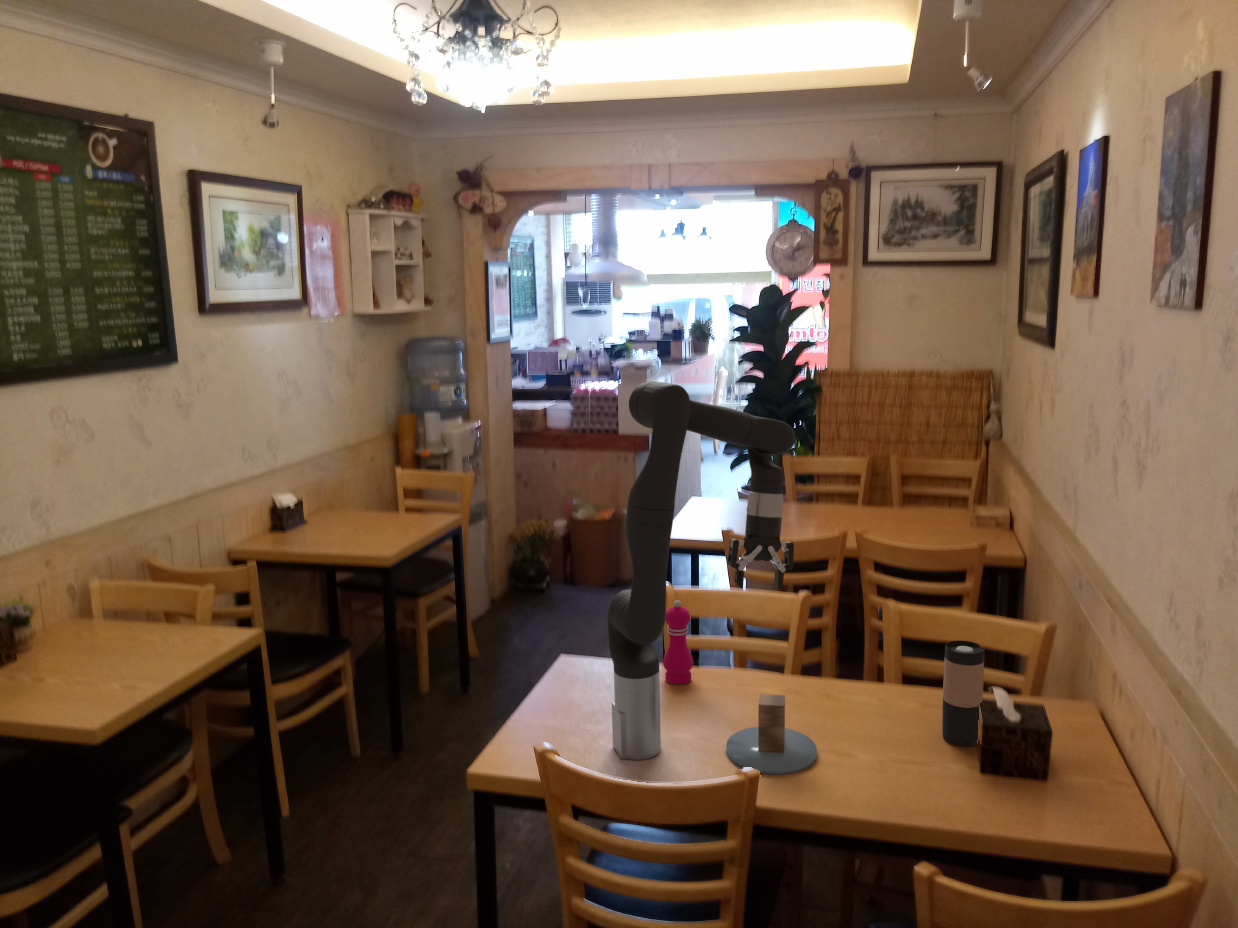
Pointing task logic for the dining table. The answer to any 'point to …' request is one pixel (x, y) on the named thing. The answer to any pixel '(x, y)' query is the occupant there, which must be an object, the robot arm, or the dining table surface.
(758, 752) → the slate dish
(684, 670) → the pepper mill
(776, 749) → the walnut block
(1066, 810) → the dining table surface
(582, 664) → the dining table surface
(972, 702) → the travel mug
